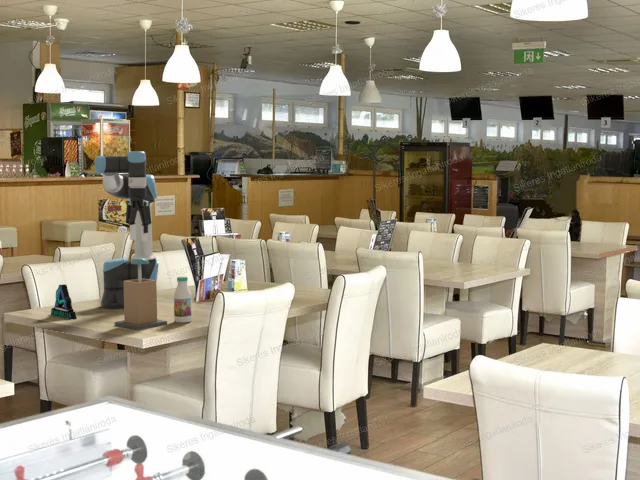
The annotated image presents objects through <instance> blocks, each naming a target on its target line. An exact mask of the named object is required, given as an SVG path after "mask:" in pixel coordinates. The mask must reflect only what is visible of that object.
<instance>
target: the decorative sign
mask: <svg viewBox="0 0 640 480" xmlns="http://www.w3.org/2000/svg"><path fill="white" fill-rule="evenodd" d="M50 315H52V316H54V315H55V316H54V317H59V316H60V317H59V318H62V317H64V319H67V318H68V320H71V319H73V320H77V315H76V311H75V310H74V308H73V305H72V298H71V296H70V293H69V289H68V287H67V284H58V288H56V291H55V302H54V307H51V309H50Z"/></svg>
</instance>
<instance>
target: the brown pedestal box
mask: <svg viewBox="0 0 640 480" xmlns="http://www.w3.org/2000/svg"><path fill="white" fill-rule="evenodd" d="M141 279H142V282H138V279H134V280H126V281H123V283H124V308H123V312H124V315H123V316H124V320H123V319H122V320H117V321H114V326H115V327H121V328H127V329H131V330H136V331H139V330H145V329H150V328H155V326H156V327H161V325H162V326H167V325H168V320H164V319H159V318H158V301H157V300H158V299H157V297H158V296H157V291H158V290H157V289H158V288H157V281H156V280H150V279H143V278H141Z"/></svg>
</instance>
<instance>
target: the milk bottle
mask: <svg viewBox="0 0 640 480" xmlns="http://www.w3.org/2000/svg"><path fill="white" fill-rule="evenodd" d="M188 278H189V277H188V276H178V277H176V282H177V286H176V289H175V291H174V295H173V305H174V306H173V310H174V311H173V313H174V314H173V315H174V316H173V319H174V322H175V323H177V324H178V323H179V324H181V323H183V324H184V323H191V322H192V321H193V319H192V318H193V311H192V310H193V309H192V308H193V306H192V305H193V304H192V293H191V290H190V288H189V286H188V281H189V280H188Z"/></svg>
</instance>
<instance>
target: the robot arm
mask: <svg viewBox="0 0 640 480" xmlns="http://www.w3.org/2000/svg"><path fill="white" fill-rule="evenodd" d="M147 164H148V163H147V156H146V152H145V151H141V150H140V151H139V150H137V151H132V150H131V151H128V153H127V155H99V156H95V158H94V172H95V173H96V174H101V177H102V187H103V189H104V191H105V192H106V193H108V195H111V196H112V197H115V198H117V199H122V200H123V199H125V200H126V201H125V203H126V208H125V209H126V212H125V213H126V214H125V223H126V224H128V227H129V229H128V230H129V240H130V241H134V254H133V255H132V256H131V259H133V258H147V259H148V261H149V264H141V278H143V279H150V280H156V282H157V280H158V274H159V264H160V262H159V261H160V260H158V259H157V257H156V255H155V254H154V253H153V251H154V250H153V224H152V223H153V221H152V220H153V219H152V215H153V214H152V206H153V204H154V203H155V200H156V199H158V192H157V186H156V180H155V176H154V175H153V174H147ZM102 267H103V268H102V269H103V270H102V272H103V273H102V274H103V293H102V295H101V300H100V308H102V309H124V283H123V281H126V280H134V279H138V264H131V260H128V258H126V257H120V258H114V259H109V260H106V261H104V262H103V266H102Z"/></svg>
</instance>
